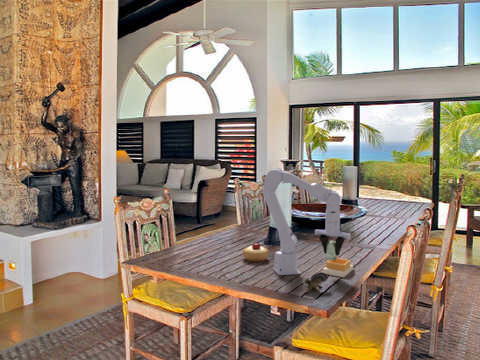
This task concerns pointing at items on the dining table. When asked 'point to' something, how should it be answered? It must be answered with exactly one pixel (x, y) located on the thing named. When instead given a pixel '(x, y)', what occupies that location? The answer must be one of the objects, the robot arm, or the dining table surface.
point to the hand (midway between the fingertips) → (331, 253)
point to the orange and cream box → (338, 267)
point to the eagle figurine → (315, 281)
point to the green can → (331, 250)
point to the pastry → (255, 253)
